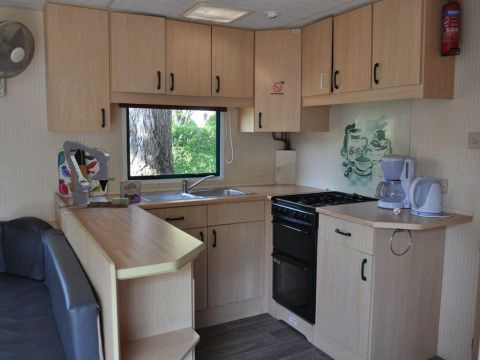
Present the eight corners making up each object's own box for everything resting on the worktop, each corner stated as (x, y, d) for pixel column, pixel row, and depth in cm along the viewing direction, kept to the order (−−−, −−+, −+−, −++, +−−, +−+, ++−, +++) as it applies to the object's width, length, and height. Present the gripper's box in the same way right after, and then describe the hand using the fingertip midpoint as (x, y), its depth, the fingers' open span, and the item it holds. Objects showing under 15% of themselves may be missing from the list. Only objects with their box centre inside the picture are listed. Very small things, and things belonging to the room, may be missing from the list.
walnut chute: (87, 209, 273) (87, 204, 273) (90, 206, 286) (90, 201, 286) (127, 209, 278) (127, 204, 278) (129, 206, 291) (129, 201, 290)
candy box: (120, 204, 297) (120, 180, 296) (120, 203, 303) (120, 180, 301) (140, 204, 301) (140, 180, 299) (140, 203, 306) (140, 180, 305)
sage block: (119, 206, 280) (119, 199, 280) (120, 205, 286) (120, 197, 286) (127, 206, 281) (127, 199, 281) (128, 205, 287) (128, 197, 286)
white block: (111, 206, 279) (111, 198, 279) (112, 205, 285) (112, 197, 285) (119, 206, 280) (119, 199, 280) (120, 205, 286) (120, 197, 286)
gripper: (91, 171, 279) (91, 191, 280) (114, 171, 281) (114, 192, 282) (92, 170, 286) (92, 190, 287) (115, 170, 288) (115, 190, 289)
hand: (103, 191), depth 285 cm, fingers closed
